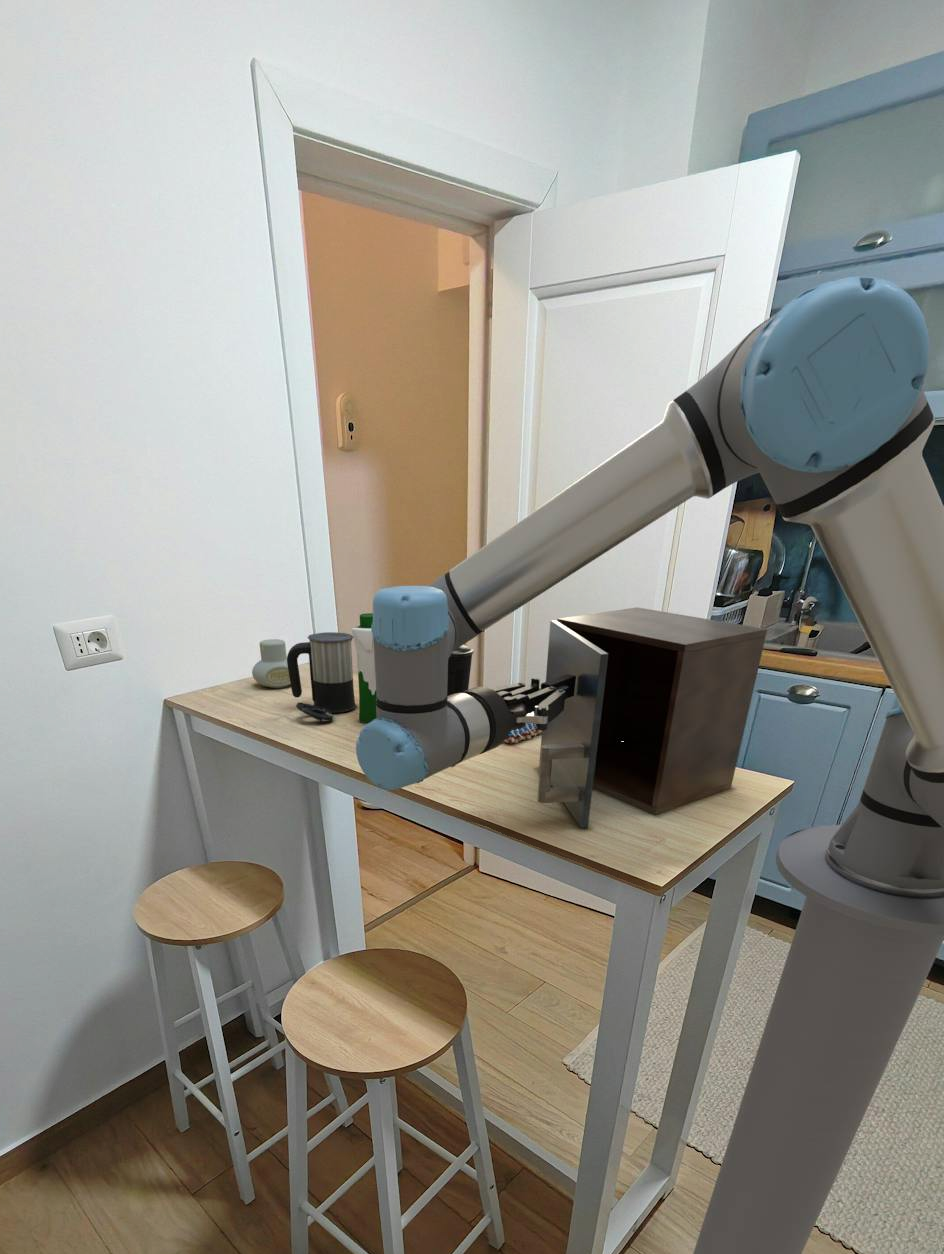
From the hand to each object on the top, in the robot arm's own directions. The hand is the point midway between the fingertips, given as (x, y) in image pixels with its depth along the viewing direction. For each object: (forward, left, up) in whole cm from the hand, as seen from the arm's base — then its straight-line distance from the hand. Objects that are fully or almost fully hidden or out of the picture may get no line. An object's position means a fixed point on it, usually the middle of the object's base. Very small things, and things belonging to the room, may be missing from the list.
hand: (570, 685), depth 99 cm
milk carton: (+53, -1, -18) cm, 56 cm away
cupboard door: (+3, 0, -18) cm, 18 cm away
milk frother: (+64, +6, -18) cm, 67 cm away
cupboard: (+1, -18, -18) cm, 25 cm away
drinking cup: (+45, -13, -18) cm, 50 cm away
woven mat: (+31, -16, -18) cm, 39 cm away
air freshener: (+92, +5, -18) cm, 94 cm away
